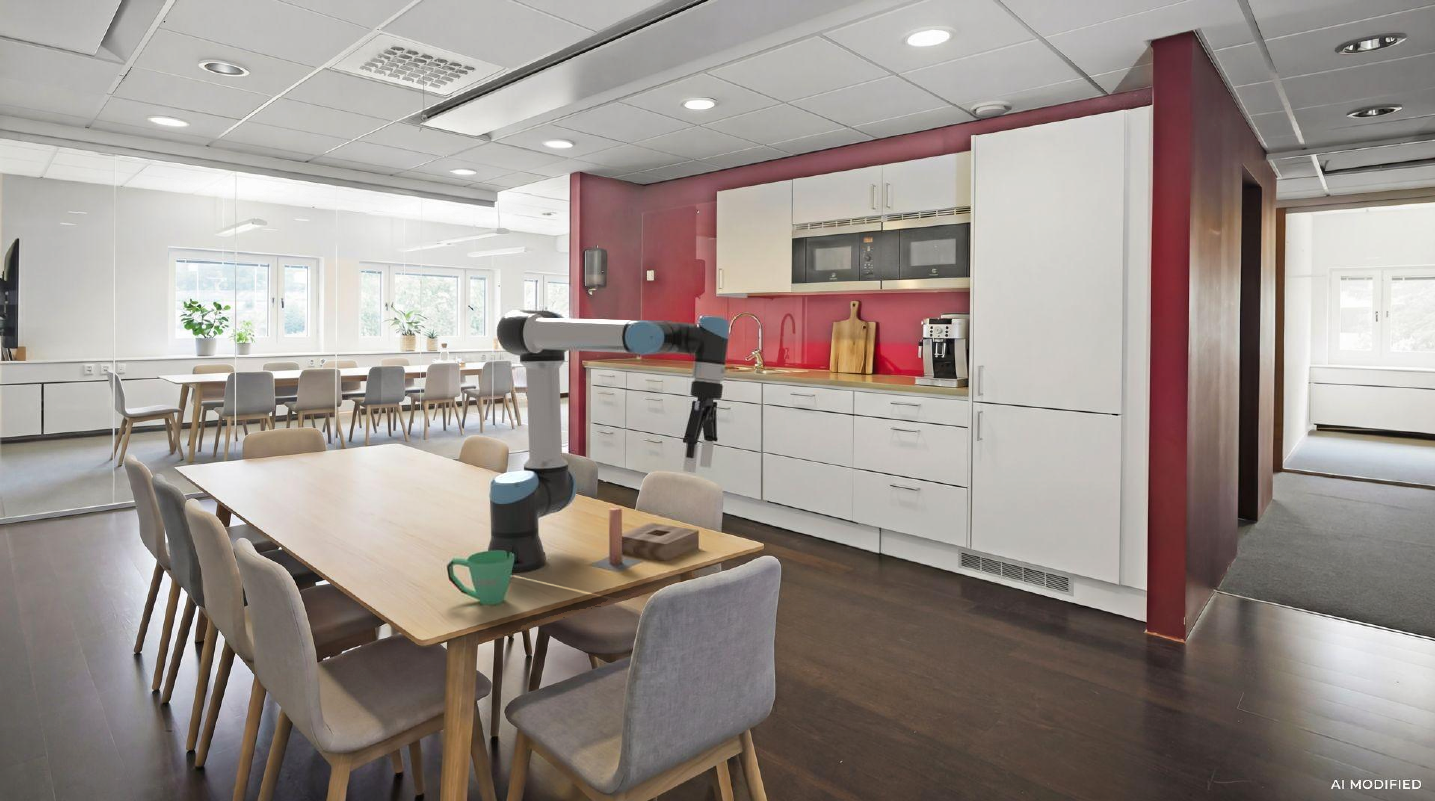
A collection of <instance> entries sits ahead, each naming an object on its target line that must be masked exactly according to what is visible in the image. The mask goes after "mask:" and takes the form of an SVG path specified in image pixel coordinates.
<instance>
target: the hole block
mask: <svg viewBox="0 0 1435 801" xmlns="http://www.w3.org/2000/svg"><path fill="white" fill-rule="evenodd" d="M699 532H700V531H699V530H698V529H692V528H687V527H686V528H685V527H680V526H674V525H673V526H672V525H668V524H662V523H655V522H649V523H647V524H644V525H641V526H638V527H636V528H632V529H631V530H630V529H629V530H628V531H625V532H622V554H624V555H625V554H626V555H630V556H636V557H640V558H641V557H642V558H645V559H651V560H655V561H662V562H667V561H670V560H672V559H674V558H677V557H678V556H681V555H683V554H686V553H687V552H690V551H696V550H697V549H699V546H700V542H699V541H700V539H699V538H700V533H699Z"/></svg>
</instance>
